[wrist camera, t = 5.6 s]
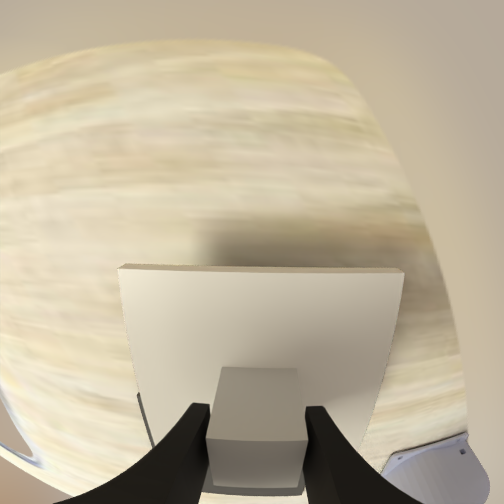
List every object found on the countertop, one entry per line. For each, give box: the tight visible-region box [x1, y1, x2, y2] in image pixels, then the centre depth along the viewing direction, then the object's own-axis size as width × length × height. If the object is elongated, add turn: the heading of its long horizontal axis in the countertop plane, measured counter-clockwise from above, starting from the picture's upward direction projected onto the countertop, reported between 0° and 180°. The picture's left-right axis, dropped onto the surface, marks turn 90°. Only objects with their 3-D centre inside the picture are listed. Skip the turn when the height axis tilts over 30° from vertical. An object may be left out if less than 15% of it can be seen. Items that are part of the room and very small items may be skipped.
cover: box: [117, 264, 405, 488], centre depth 10 cm, size 11×11×5 cm
